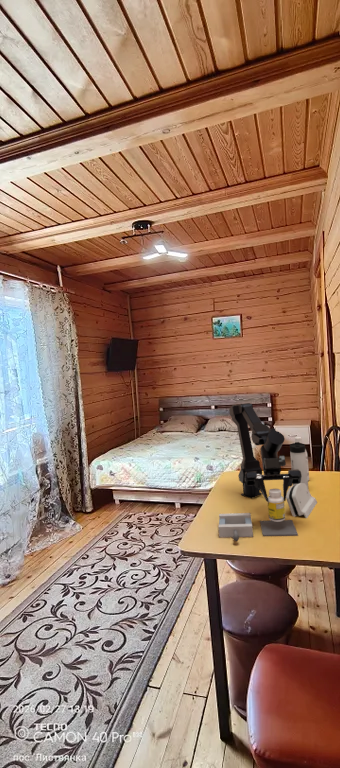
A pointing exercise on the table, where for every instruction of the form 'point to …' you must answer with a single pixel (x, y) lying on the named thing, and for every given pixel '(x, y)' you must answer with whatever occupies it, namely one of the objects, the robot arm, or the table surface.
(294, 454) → the travel mug
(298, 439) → the bath foam
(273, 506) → the supplement bottle
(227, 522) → the vise
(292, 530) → the pad
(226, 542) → the table surface
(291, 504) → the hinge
